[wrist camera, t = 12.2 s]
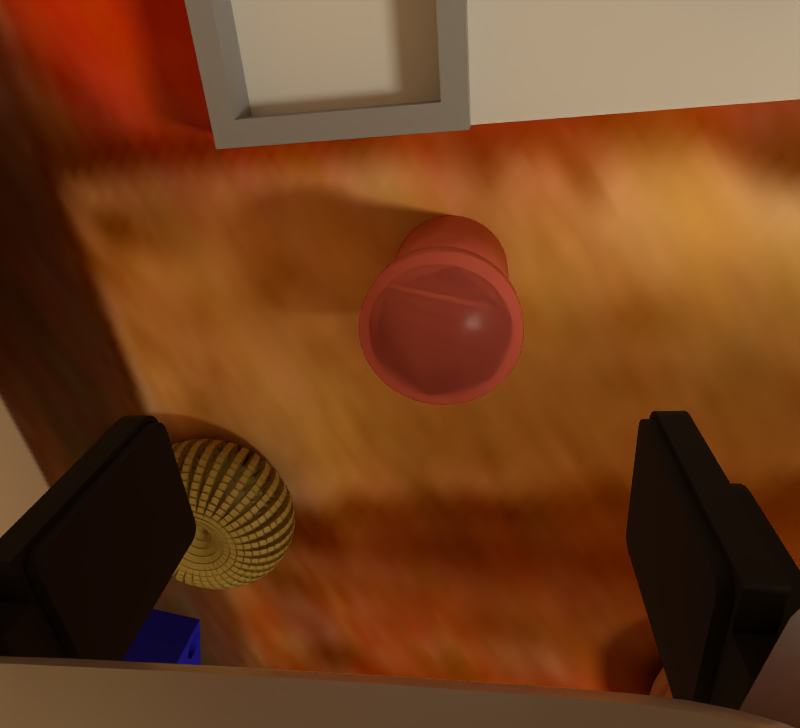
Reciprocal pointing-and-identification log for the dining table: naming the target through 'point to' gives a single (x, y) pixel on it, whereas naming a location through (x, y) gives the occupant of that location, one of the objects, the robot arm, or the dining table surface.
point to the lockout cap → (443, 314)
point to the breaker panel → (478, 62)
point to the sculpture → (232, 514)
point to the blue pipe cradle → (166, 640)
